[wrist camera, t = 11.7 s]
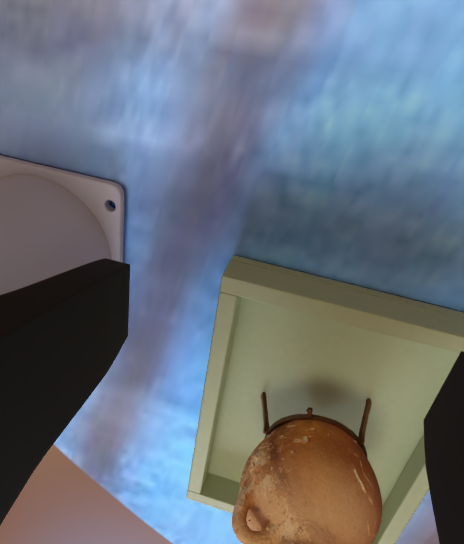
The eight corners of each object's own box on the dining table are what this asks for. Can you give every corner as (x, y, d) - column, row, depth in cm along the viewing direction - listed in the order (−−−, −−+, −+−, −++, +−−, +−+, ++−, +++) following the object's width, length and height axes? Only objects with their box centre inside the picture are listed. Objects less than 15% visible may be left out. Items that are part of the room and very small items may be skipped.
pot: (382, 452, 23) (369, 365, 20) (396, 639, 16) (379, 555, 13) (274, 449, 25) (246, 369, 22) (248, 615, 18) (202, 537, 15)
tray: (380, 528, 26) (383, 563, 24) (196, 469, 27) (185, 498, 26) (501, 321, 18) (517, 351, 16) (233, 254, 19) (221, 275, 18)
